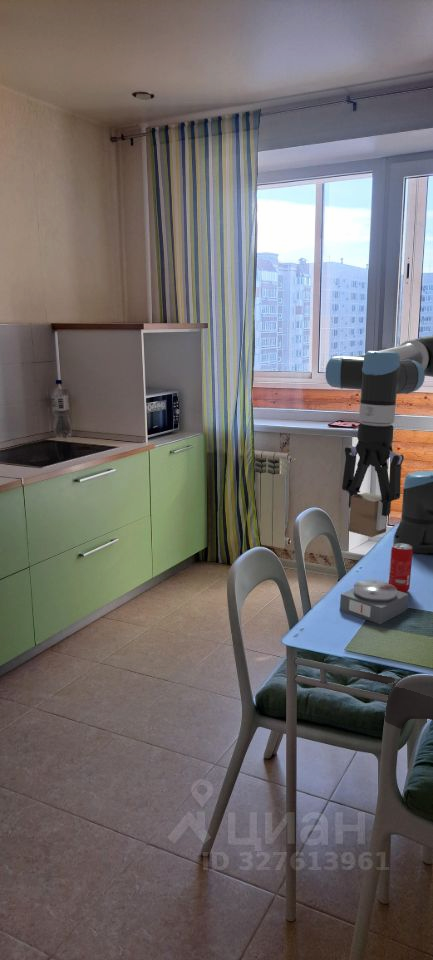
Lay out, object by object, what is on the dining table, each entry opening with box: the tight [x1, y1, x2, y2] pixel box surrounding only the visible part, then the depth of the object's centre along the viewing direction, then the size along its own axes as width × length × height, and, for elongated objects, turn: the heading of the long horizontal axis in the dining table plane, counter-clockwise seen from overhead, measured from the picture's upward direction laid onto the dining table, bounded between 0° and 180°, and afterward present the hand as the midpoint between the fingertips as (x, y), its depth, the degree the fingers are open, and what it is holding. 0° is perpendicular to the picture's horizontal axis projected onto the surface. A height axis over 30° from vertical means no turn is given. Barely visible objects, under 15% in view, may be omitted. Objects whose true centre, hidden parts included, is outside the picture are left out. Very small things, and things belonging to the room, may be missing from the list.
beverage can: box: [388, 543, 413, 594], centre depth 177 cm, size 5×5×12 cm
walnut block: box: [347, 492, 388, 538], centre depth 156 cm, size 6×6×8 cm
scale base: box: [339, 587, 409, 625], centre depth 166 cm, size 12×11×4 cm
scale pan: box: [353, 579, 397, 602], centre depth 165 cm, size 10×10×2 cm
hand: (367, 525), depth 157 cm, fingers closed on walnut block, 6 cm apart
